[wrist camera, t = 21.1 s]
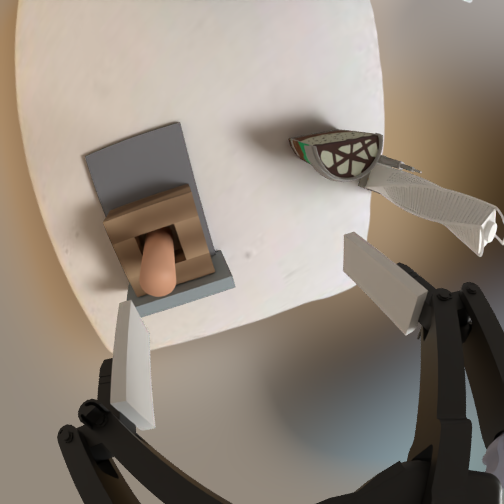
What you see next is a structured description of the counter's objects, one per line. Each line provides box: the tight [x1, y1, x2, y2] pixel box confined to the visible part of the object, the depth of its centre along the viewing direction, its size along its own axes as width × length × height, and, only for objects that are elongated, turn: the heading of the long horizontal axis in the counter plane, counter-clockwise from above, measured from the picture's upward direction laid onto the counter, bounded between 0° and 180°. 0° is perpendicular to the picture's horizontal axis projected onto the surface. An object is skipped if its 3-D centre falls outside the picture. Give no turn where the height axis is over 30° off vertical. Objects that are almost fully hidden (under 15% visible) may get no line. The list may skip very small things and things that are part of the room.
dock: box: [85, 122, 235, 317], centre depth 35 cm, size 23×16×8 cm
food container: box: [289, 130, 383, 181], centre depth 37 cm, size 12×6×10 cm, turn 102°
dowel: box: [139, 226, 176, 297], centre depth 33 cm, size 4×4×12 cm
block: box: [103, 184, 215, 297], centre depth 37 cm, size 12×12×5 cm
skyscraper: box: [358, 155, 504, 257], centre depth 35 cm, size 8×8×28 cm
